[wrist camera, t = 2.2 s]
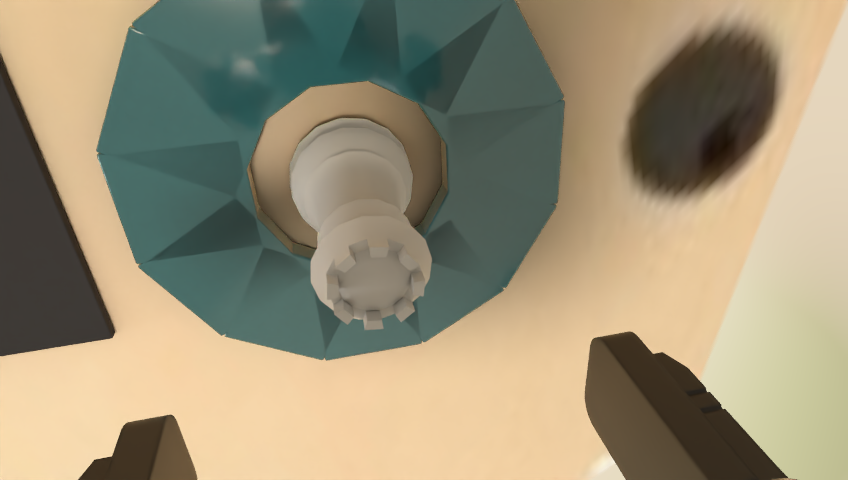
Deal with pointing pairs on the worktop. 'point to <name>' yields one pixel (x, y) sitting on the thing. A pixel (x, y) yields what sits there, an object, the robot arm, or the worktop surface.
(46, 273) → the coaster
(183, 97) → the teal faceted ring
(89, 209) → the worktop surface
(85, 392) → the worktop surface
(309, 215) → the rook chess piece
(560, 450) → the worktop surface
